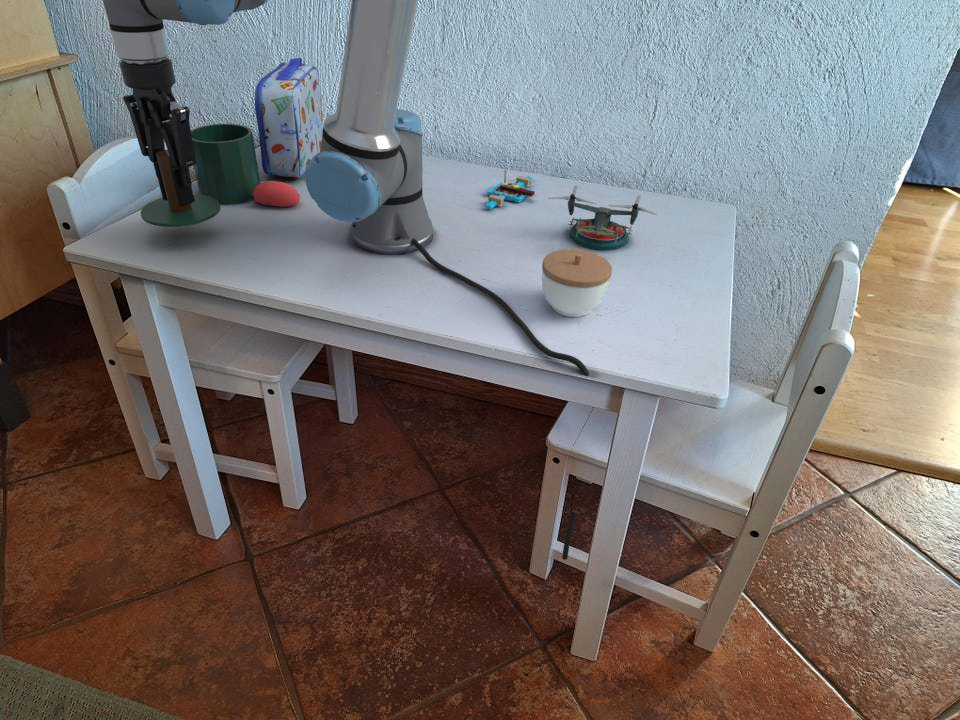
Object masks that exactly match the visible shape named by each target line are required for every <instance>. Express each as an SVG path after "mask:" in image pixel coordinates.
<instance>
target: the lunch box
mask: <svg viewBox="0 0 960 720" xmlns="http://www.w3.org/2000/svg"><path fill="white" fill-rule="evenodd" d="M322 107H323V105H322V92H321V85H320V77H319V70H318V68H317V67H316V65H315V64H306V63H303V59H302V57H294V58H290V59H289V60H288V61H286V62H284V61H283V62H281V63H279V64H278V65H277V66H276V67H275V68H274V69H273V70H271V71H270V72H268V73H267V74H266V75H264V76H263V77H262V78H261V79H259V80H258V82H257V84H256V85H255V91H254V111H255V112H254V113H255V119H256V124H257V131H258V140H259V147H260V158H261V159H260V160H261V167H262V170H263V173H264V174H265V175H266V176H268V177H271V176H277V177H284V178H285V177H286V178H297V179H301V178H302V177H303V176H305V173H306V168H307V166H308V164H309V162H310V161H311V160H312V157H313V156H315V155H316V154H317V153H319V152H320V148H321V141H322V133H323V108H322Z"/></svg>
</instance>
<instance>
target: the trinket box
mask: <svg viewBox="0 0 960 720" xmlns="http://www.w3.org/2000/svg"><path fill="white" fill-rule="evenodd" d="M541 269H542V271H541V287H542V292H543V295H544V298H545V299H546V302H547V303H548V304H549V305H550V306H551V307H552V310H554V311H555V313H557V314H559V315H560V316H564V317H568V318H582V317H584V316H586V315H588V314H589V313H590V312H592V311H593V310H595V309H596V308H598V306H600V304H601V303H602V302H603V300H604V298H605V296H606V294H607V291H608V288H609V286H610V285H609V284H610V279H611V277H612V273H613V266H612V265H611V263H610V262H609V261H608V260H607V259H606V258H605V257H603V256H602V255H600V254H597V253H595V252H592V251H589V250H584V249H577V248H566V249H560V250H555V251H552V252H550V253H548V254H546V256H545V257H544V258H543V259H542V264H541Z"/></svg>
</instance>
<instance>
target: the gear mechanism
mask: <svg viewBox="0 0 960 720" xmlns="http://www.w3.org/2000/svg"><path fill="white" fill-rule="evenodd" d="M515 178H516V179H515V184H514V183H513V182H507V168H506V169H504V175H503V181H502V182H499V183H497V184H495V185H494V186H493V187H491V188H490V189H488V190H487V195H489V196H488V203H486V204H485V209H488V210H492V209H493V208H494V207H500V208H501V207H503V206H504V200H507V201H510V202H515V203H520V202H522V201H523V200H524V199H526V198H527V197H533V196H534V195H535V192H536V191H534V190H532V188H529V187H530V186H531V181H532V180H533V177H532V176H530V175H528V176H526V177H524V176H521V175H518V176H517V177H515Z"/></svg>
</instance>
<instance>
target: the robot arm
mask: <svg viewBox="0 0 960 720" xmlns="http://www.w3.org/2000/svg"><path fill="white" fill-rule="evenodd" d="M102 2H103V6H104V9H105V14H106V17H107V21H108V25H109V30H110V31H109V32H110V34H111V37H112V43H113V45H114V50H115V54H116V56H117V58H119V59H120V62H119V63H118V64H119V68H120V71H121V72H120V73H121V76H122V79H123V83H124V85H125V86H126V87H127V88H129V89H131V90H132V91H131V92H132V93H131V94H127V95H124V96H123V97H122V98H123V102H124V104H125V107H126V108H127V110H128V112H129V116H130V120H131V123H132V125H133V130H134V132H135V136H136V139H137V142H138V146H139V149H140V153H141V155H142V156H143V157H147V158H148V159H149V161H150V162H151V163H152V164H153V168H154V173H155V176H156V178H157V182H158V185H159V189H160V193H161V198H163V200H165V201H166V200H167V196H166V192H165V188H164V184H163V180H162V176H161V172H160V168H159V164H158V160H157V156H156V153H157V152H159V151H161V150H168V153H169V155H170V158H171V161H172V164H173V167H171V168H170V170H171V173H172V177H173V181H174V185H175V190H176V194H177V198H178V202H179V206H185V205H188V204H190V203H193V202H195V200H194V195H193V194H194V191H193V183H192V178H191V174H190V173H191V172H190V170H189V168H190V167H194V165H196V157H195V152H194V146H193V141H192V135H191V130H192V129H191V124H190V114H191V111H190V108H189V107H188V106H185V105H184V106H181V105H180V104H178V103H177V100H176V97H175V95H174V93H173V91H172V88H173V86H174V85H175V84H176V75H175V71H174V67H173V62H172V60H171V59H170V58H169V55H170V50H169V45H168V40H167V37H166V33H165V32H166V31H165V28H164V27H165V26H164V21H165V20H166V21H173V22H181V23H188V24H189V23H190V24H196V25H198V26H207V25H212V26H220V25H223V24H226V23H227V22H229V19H230V17H231V16H232V15H233V14H234V13H238V12H242V11H251V10H254V9H257V8H259V7H261V6H263V5H265V4H266V3H268V2H269V0H102ZM418 3H419V0H351V2H350V9H349V17H348V23H347V30H346V37H345V43H344V52H343V58H342V59H343V60H342V65H341V73H340V81H339V88H338V95H337V100H336V101H337V103H336V108H335V112H334V113H333V114H331V115H329V116H328V117H326V118H325V120H324V121H323V125H322V128H323V133H322V141H321V148H320V152H319V153H317V154H316V155H315V156H313V157H312V160H311V161H310V162H309V164H308V166H307V168H306V173H305V174H304V177H305V178H304V179H305V186H306V189H307V192H308V194H309V196H310V198H311V199H312V200H313V201H314V202H315V203H316V205H317V207H318V208H319V209H320V210H321V211H322V212H324V214H326V215H327V216H329V217H331V218H332V219H335V220H337V221H341V222H343V223H351V227H350V234H351V235H350V236H351V240H352V242H353V243H354V245H355V246H357V247H359V248H360V249H362V250H365V251H367V252H372V253H376V254H383V255H397V254H398V255H399V254H406V253H411V252H416V251H419V253H421V254H422V255H423V257H424V258H425V259H426V261H427V262H429V264H430V265H432V266H433V267H435V268H436V269H437V270H439V271H440V272H442V273H445V274H447V275H449V276H451V277H453V278H455V279H457V280H459V281H461V282H463V283H464V284H466V285H468V286H469V287H472V288H474V289H475V290H478V291H480V292H481V293H483V294H484V295H487V297H489V298H491V299H492V300H493V301H495V303H497V304H498V305H499V306H500V307H501V308H502V309H503V310H504V311H505V312H506V313H507V314H508V315H509V317H510V318H511V319H512V321H514V323H515V324H516V325H517V326H518V327H519V328H520V329H521V331H522V332H523V333H524V335H525V336H526V338H527V339H528V341H530V343H531V344H532V345H534V347H535V348H536V349H538V350H539V351H540V352H541V353H543V354H544V355H546V356H547V357H550V358H553V359H556V360H561V361H565V362H569V363H571V364H573V365H575V367H576V368H578V369H579V371H580V372H581V374H582V375H583V376H586V377H589V376H590V375H591V374H590V372H589V370H588V368H587V367H586V365H585V364H584V363H583V362H582V361H581V360H580V359H578V358H577V357H576V356H573V355H569V354H567V353H563V352H557V351H553V350H551V349H549V348H548V347H547V346H546V345H544V344H543V343H542V342H541V341H540V340H539V339H538V338H537V337H536V336H535V335H534V333H533V332H532V331H531V329H530V328H529V326H527V324H526V323H525V322H524V321H523V320H522V319H521V317H519V316H518V315H517V313H516V312H515V311H514V310H513V308H511V306H510V305H509V304H508V303H507V302H506V301H505V300H504V299H502V298H501V297H500V296H499V295H497V294H496V293H495V292H493V291H492V290H490V289H489V288H487V287H485V286H483V285H481V284H480V283H478V282H476V281H474V280H472V279H470V278H468V277H466V276H465V275H463V274H461V273H459V272H457V271H455V270H453V269H451V268H448V267H446V266H444V265H443V264H441V263H439V262H438V261H437V260H436V259H434V258H433V256H431V255H430V253H429V252H428V251H427V250H426V249H425V247H426V246H427V245H429V244H430V243H431V242H432V240H433V237H434V228H433V223H432V220H431V218H430V215H429V212H428V210H427V206H426V202H425V199H424V196H423V136H424V133H423V132H422V131H423V129H422V120H421V118H420V116H419V115H418V114H417V113H415V112H413V111H410V110H406V109H401V108H398V104H399V99H400V95H401V90H402V85H403V80H404V76H405V69H406V64H407V59H408V54H409V50H410V46H411V45H410V44H411V39H412V35H413V29H414V25H415V19H416V14H417V10H418ZM576 515H577V513H576V512H574V511H572V510H570V512H569V517H568V521H567V526H566V532H565V536H564V537H565V538H564V543H563V547H562V548H563V549H562V556H561V558H562V560H564V561H566V560H568V558H569V552H570V545H571V539H572V534H573V530H574V525H575V520H576Z"/></svg>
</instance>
